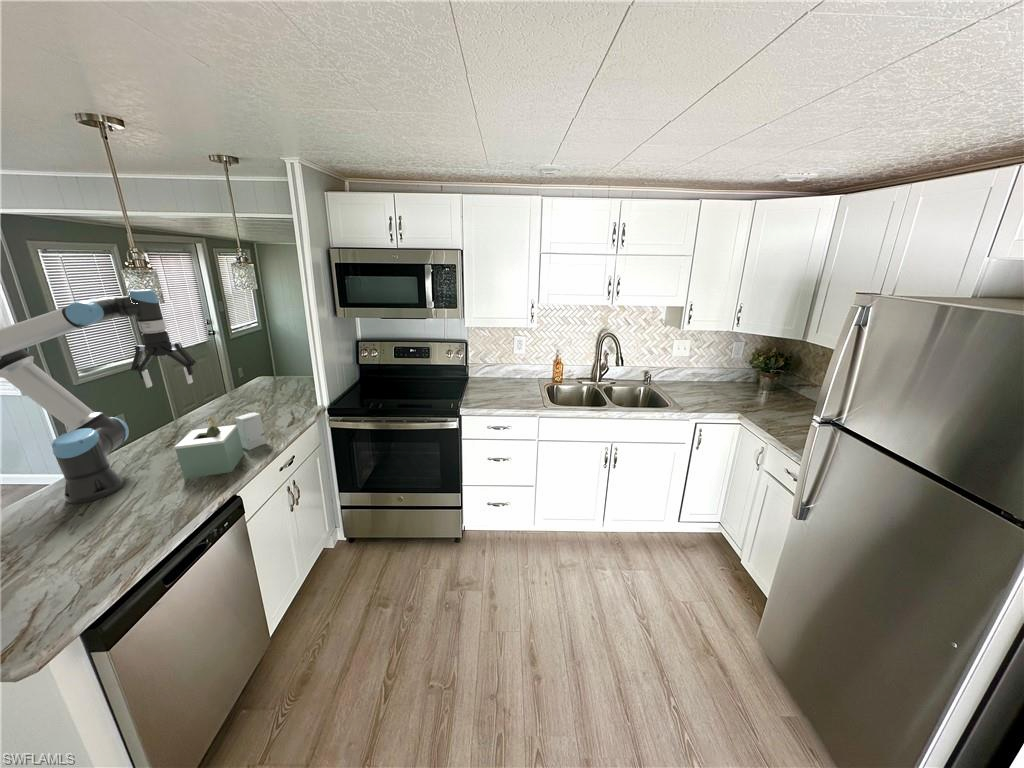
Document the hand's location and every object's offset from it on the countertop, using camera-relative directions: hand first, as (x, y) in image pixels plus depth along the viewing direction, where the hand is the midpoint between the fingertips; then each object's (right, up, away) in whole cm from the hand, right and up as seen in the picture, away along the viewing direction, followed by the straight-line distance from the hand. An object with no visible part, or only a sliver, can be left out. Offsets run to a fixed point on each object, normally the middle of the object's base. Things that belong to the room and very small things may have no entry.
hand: (170, 384), depth 158 cm
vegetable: (+11, -33, +8) cm, 35 cm away
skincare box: (+17, -28, +25) cm, 41 cm away
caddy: (+12, -34, +8) cm, 37 cm away
